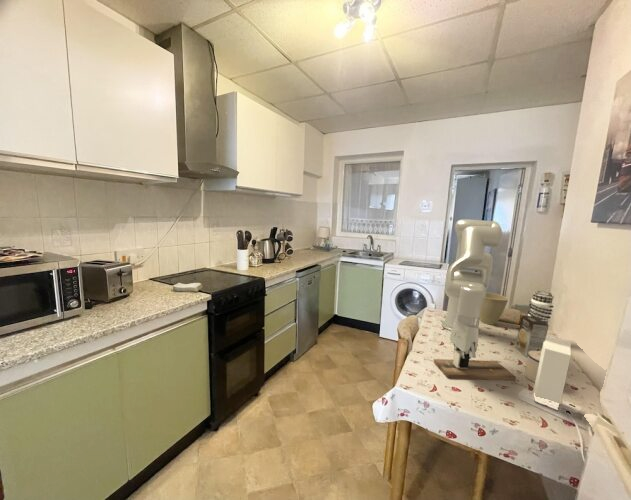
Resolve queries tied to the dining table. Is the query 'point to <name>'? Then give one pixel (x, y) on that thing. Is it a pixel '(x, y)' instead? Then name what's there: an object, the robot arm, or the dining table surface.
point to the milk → (552, 369)
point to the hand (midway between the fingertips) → (460, 364)
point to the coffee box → (531, 334)
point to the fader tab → (457, 358)
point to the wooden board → (475, 370)
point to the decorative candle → (541, 305)
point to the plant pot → (492, 308)
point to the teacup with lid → (532, 365)
